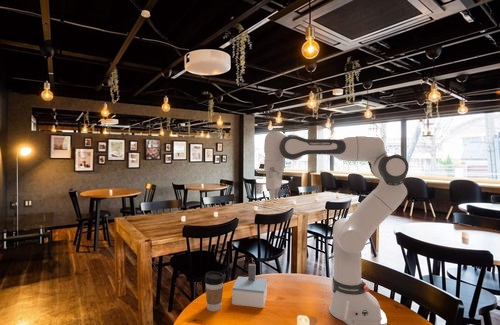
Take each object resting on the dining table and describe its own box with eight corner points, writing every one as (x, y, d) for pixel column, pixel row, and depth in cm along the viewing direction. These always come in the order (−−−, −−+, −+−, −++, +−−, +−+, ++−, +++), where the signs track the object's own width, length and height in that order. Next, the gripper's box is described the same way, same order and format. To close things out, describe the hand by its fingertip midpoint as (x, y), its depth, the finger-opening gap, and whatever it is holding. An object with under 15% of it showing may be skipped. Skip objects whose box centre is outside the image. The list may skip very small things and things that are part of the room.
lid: (267, 283, 127) (267, 264, 127) (263, 295, 116) (264, 275, 115) (238, 280, 130) (238, 261, 130) (232, 292, 118) (232, 272, 118)
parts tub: (266, 295, 127) (267, 281, 127) (263, 309, 116) (263, 293, 116) (238, 292, 130) (238, 278, 130) (232, 305, 118) (232, 290, 118)
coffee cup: (207, 303, 120) (207, 269, 120) (225, 304, 119) (226, 271, 119) (201, 313, 112) (202, 278, 112) (221, 315, 111) (221, 279, 110)
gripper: (277, 166, 110) (277, 200, 109) (284, 168, 129) (284, 197, 129) (262, 167, 111) (262, 200, 111) (271, 168, 131) (271, 196, 130)
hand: (274, 198), depth 120 cm, fingers open, 8 cm apart
